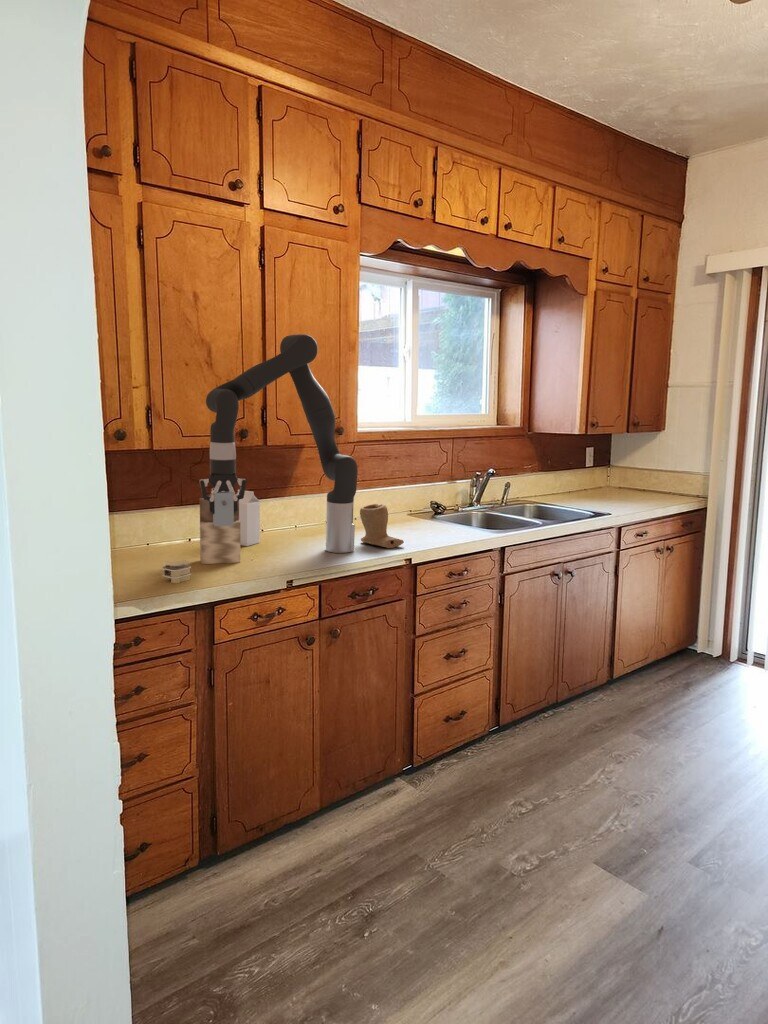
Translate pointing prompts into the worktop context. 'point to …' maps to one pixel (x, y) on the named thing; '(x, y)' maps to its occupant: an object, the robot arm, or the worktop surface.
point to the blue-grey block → (223, 509)
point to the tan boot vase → (377, 526)
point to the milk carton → (249, 519)
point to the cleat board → (218, 538)
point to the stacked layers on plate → (177, 570)
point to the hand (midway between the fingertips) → (223, 513)
